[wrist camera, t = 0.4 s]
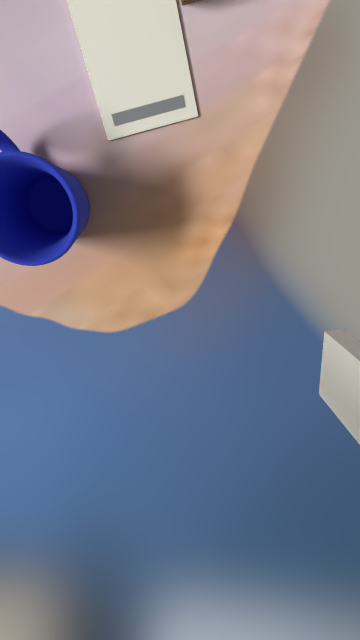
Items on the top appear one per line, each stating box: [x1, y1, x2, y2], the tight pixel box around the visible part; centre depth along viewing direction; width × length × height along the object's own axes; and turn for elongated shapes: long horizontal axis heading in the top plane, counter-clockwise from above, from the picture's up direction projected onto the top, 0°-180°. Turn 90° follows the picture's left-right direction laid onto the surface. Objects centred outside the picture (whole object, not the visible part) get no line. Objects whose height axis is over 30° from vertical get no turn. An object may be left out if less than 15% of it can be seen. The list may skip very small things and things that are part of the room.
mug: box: [0, 130, 90, 266], centre depth 28 cm, size 8×12×10 cm
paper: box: [67, 0, 198, 141], centre depth 29 cm, size 14×9×1 cm, turn 14°
